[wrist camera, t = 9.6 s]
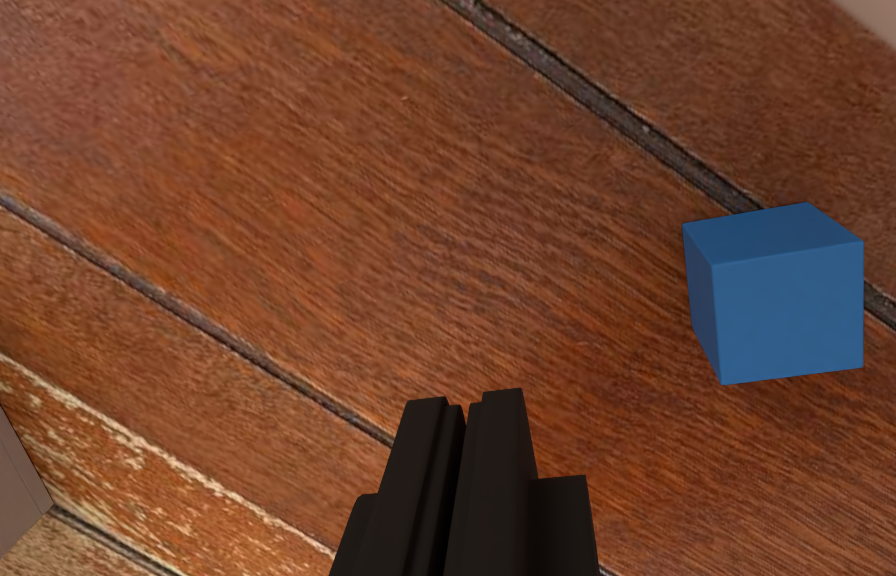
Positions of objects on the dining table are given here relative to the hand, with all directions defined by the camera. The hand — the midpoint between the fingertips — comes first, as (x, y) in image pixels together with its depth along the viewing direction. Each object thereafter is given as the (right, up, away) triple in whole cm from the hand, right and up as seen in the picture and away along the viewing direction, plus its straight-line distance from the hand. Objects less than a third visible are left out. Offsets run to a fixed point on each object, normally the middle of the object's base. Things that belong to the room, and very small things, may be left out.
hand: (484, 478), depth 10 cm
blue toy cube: (+10, +3, +13) cm, 17 cm away
